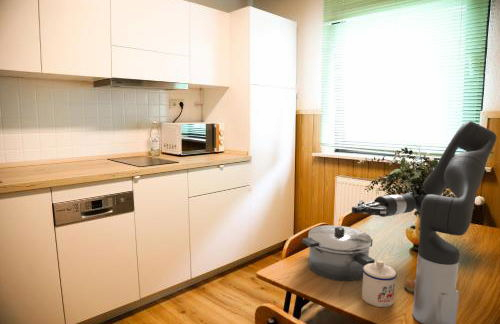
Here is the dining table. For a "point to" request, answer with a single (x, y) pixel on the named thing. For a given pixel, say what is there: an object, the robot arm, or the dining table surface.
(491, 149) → the robot arm
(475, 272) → the dining table surface
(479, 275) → the dining table surface
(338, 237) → the cooker lid
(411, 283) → the pastry
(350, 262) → the cooker pot
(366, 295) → the teacup with lid
